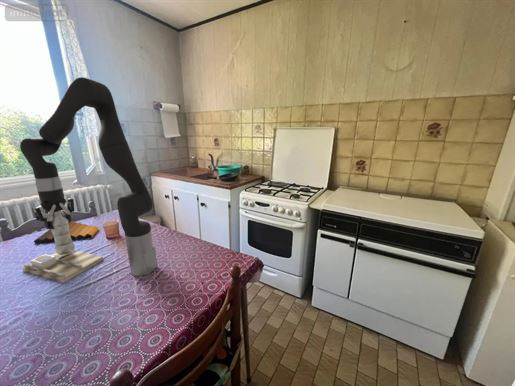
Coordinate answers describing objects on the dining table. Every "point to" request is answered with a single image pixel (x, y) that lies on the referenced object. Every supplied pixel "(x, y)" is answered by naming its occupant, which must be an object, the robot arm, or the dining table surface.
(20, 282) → the dining table surface
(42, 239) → the pan flute
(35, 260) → the cream rectangular block
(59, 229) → the plastic bottle
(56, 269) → the board
